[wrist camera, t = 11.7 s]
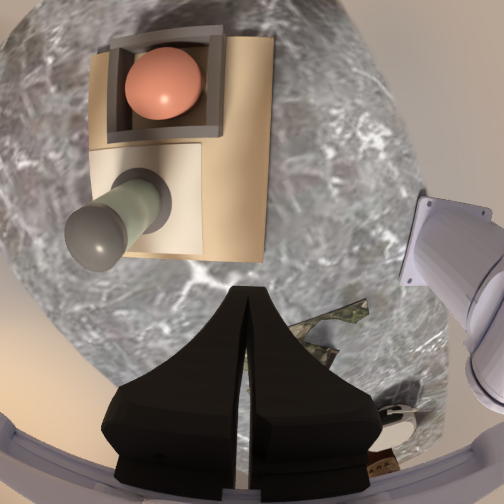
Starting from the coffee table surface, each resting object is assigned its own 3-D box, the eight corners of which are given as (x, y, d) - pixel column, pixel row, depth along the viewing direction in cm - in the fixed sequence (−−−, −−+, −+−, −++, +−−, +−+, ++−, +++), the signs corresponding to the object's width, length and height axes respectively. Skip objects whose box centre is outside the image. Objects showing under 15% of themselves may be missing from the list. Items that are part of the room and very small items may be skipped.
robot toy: (319, 444, 38) (407, 423, 35) (320, 467, 34) (412, 445, 31) (305, 413, 33) (414, 385, 30) (307, 441, 29) (423, 411, 26)
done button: (206, 51, 14) (200, 43, 13) (203, 118, 16) (197, 117, 15) (139, 58, 14) (127, 53, 13) (137, 122, 16) (124, 122, 15)
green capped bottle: (160, 177, 18) (114, 207, 12) (163, 225, 20) (125, 274, 13) (115, 179, 18) (59, 209, 12) (120, 224, 20) (72, 270, 13)
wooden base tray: (273, 40, 15) (276, 25, 12) (262, 257, 22) (263, 280, 19) (96, 57, 15) (72, 51, 12) (106, 251, 22) (88, 270, 19)
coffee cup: (353, 448, 37) (366, 510, 26) (398, 434, 37) (416, 494, 25) (351, 463, 41) (361, 517, 29) (390, 451, 40) (404, 503, 29)
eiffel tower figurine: (365, 292, 24) (426, 415, 12) (379, 359, 28) (416, 460, 16) (214, 344, 27) (196, 470, 15) (255, 398, 31) (255, 500, 19)
